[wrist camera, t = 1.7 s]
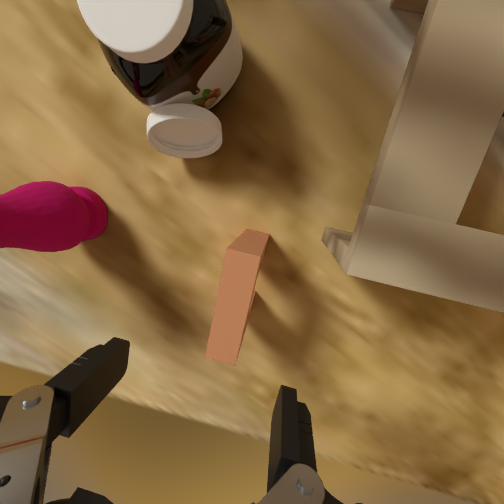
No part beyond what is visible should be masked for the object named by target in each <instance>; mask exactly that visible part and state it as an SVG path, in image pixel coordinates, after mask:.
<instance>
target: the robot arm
mask: <svg viewBox="0 0 504 504" xmlns="http://www.w3.org/2000/svg"><path fill="white" fill-rule="evenodd" d="M129 347H130V342H129V341H127V340H124V339H120V338H116V337H114V338H112V339H111V340H110V341H108V342H107V343H106V344H105V345H101V344H100V345H97V346H95V347H93V348H90V349H88V350H87V351H86V352H85V353H83V354H82V355H81V356H80V357H79V358H77V359H76V360H75V361H73V363H71V364H69V365H68V366H67V367H66V368H64V369H63V370H62V371H61V372H59V373H58V374H57V375H56V376H54V377H53V378H52V379H51V380H50V381H48V382H47V383H45V384H44V385H36V386H31V387H28V388H25V389H23V390H21V391H19V392H18V393H16V394H15V395H14V396H0V504H43V503H44V494H45V487H46V481H47V475H48V469H49V462H50V456H51V450H52V442H53V441H54V440H55V439H56V438H57V436H59V435H61V436H64V437H68V438H69V437H70V436H71V435H72V434H73V433H74V432H75V431H76V429H77V428H78V427H79V426H80V425H81V424H82V423H83V422H84V420H85V419H86V418H87V417H88V416H89V415H90V414H91V413H92V411H93V410H94V409H95V408H96V407H97V406H98V405H99V404H100V402H101V401H102V400H103V399H104V398H105V397H106V396H107V395H108V393H109V392H110V391H111V390H112V389H113V388H114V387H115V386H116V384H117V383H118V382H119V381H120V380H121V379H122V377H123V376H124V374H125V372H126V369H127V365H128V356H129ZM311 425H312V423H311V414H310V412H309V410H308V408H307V406H306V404H304V403H301V402H298V401H297V391H296V389H294V388H291V387H287V386H284V385H281V387H280V390H279V393H278V397H277V400H276V403H275V407H274V410H273V415H272V421H271V435H270V451H269V466H268V482H267V494H266V495H265V496H264V497H263V498H262V500H261V501H260V502H259V503H258V504H343V503H342V502H340V501H339V500H337V499H336V498H334V497H333V496H332V495H331V494H330V493H329V492H328V491H327V490H326V489H325V488H324V485H323V482H322V480H321V478H320V477H319V475H318V474H317V469H316V459H315V450H314V441H313V436H312V434H313V432H312V427H311ZM46 504H113V503H112V502H111V501H110V500H108V499H107V498H106V497H105V496H103V495H100V494H97V493H94V492H91V491H88V490H85V489H82V488H79V487H78V488H77V489H76V491H75V492H74V493H73V495H72V496H71V498H66V499H59V500H56V501H51V502H48V503H46ZM252 504H255V503H252ZM356 504H362V503H356Z"/></svg>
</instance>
